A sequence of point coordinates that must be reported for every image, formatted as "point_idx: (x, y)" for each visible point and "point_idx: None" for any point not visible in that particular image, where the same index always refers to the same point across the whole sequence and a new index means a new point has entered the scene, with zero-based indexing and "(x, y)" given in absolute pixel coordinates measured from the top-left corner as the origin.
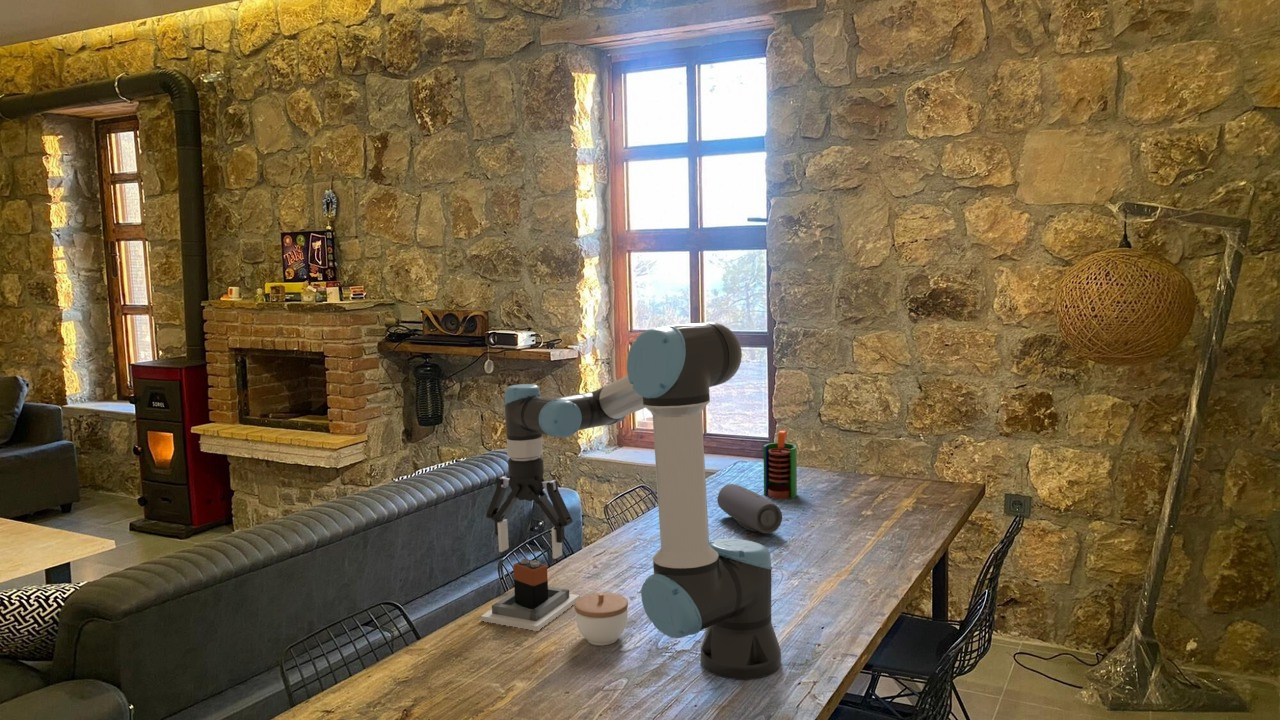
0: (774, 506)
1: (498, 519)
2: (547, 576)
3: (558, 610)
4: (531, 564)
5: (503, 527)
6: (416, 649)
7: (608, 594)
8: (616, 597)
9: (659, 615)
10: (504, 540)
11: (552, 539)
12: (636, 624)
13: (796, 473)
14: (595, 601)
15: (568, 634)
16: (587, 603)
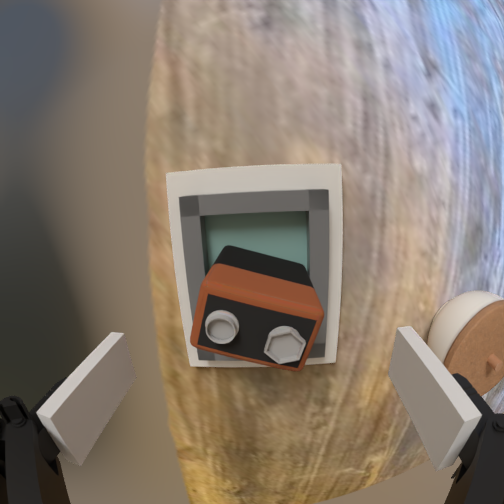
0: None
1: (61, 470)
2: (317, 296)
3: (340, 276)
4: (279, 361)
5: (82, 425)
6: (183, 450)
7: (500, 320)
8: None
9: None
10: (112, 382)
11: (419, 429)
12: (485, 240)
13: None
14: (482, 364)
15: (394, 337)
16: (469, 380)
